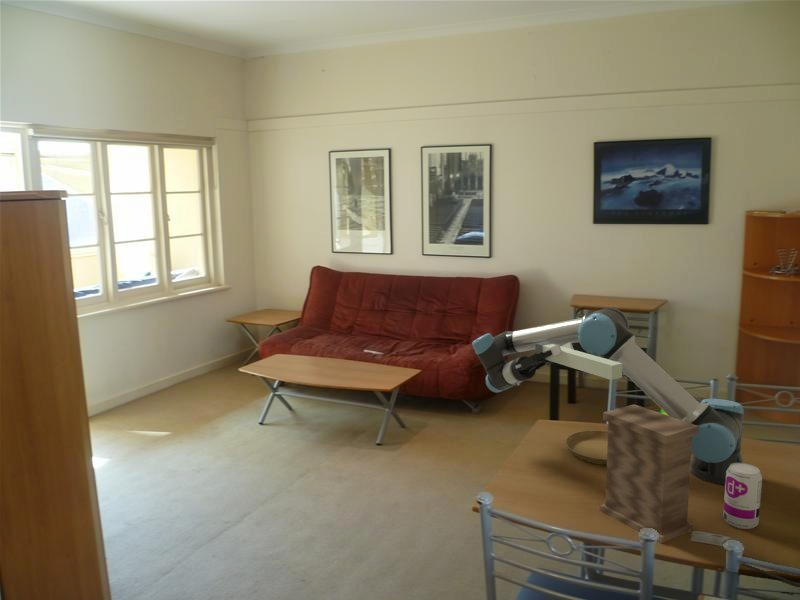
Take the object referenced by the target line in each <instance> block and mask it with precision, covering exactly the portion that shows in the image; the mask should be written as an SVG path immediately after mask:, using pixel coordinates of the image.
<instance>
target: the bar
mask: <svg viewBox="0 0 800 600" xmlns="http://www.w3.org/2000/svg"><path fill="white" fill-rule="evenodd" d="M553 346H555V344H553V343H549V342H540V343H535V349H534V352H535V353H534V354H539V353H540V352H543V353H544V351H545V350H547V349H549V348H551V347H553ZM562 346H563V345H560V348H561V350H562V353H561V354H559V355H557V356H555V357H553V358H551V359H549V361H552V362H553V363H556V364H559V365H561V366H562V365H563V366H565V367H568V368H570V369H571V368H572V369H575V370H579V371H582V372H585V373H588V374H591V375H594V376H597V377H599V378H604V379H608V380H609V381H613V380H617V379H618V380H619V379H622V378H623V372H622V363H619V362H616V361H612V360H609V359H605V358H601V357H599V356H598V355H593V354H590V353H588V352H583V351H579V350H577V349H576V350H575V349H574V348H573V349H574V350H573V349H569V348H566V347H562ZM545 359H546V358H545ZM546 360H547V359H546Z"/></svg>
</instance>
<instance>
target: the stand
mask: <svg viewBox="0 0 800 600" xmlns="http://www.w3.org/2000/svg"><path fill="white" fill-rule="evenodd" d="M602 420H603V421H605V422H607V423H608V424H607V426H608V427H607V431H608V446H607V465H606V475H605V476H606V477H605V480H606V481H605V503H603V504H600V505H599V511H600V512H602V513H604V514H606V515H607V516H609V517H612V518H613V519H615V520H617V521H619V522H621V523H622V524H624V525H626V526H628V527H629V528H632V529H633V530H635V531H637V532H639V531H640V529H642V528H653V529H655V530H657V532H658V533H659V540H658V541H657V542H658V543H659V544H663V543H665V541H666V542H668V541H670V540H672V539H671V538H673V539H675V538H677V537H679V535H680V536H682V535H684V534H687V533H689V532H691V531H693V527H694V525H693V523H690V522H688V512H689V511H688V509H689V495H690V493H689V492H690V480H691V479H690V476H691V471H690V467H691V461H692V459H691V458H692V452H691V446H692V436H693V435H696V434H698V431H699V426H697V425H694V424H691V423H688V422H685V421H682V420H679V419H676V418H673V417H670V416H668V415H665V414H662V413H661V412H658V411H655V410H652V409H649V408H647V407H643V406H640V405H637V404H631V405H626V406H623V407H622V406H621V407H619V408H615V409H611V410H608V411H603V413H602ZM690 530H691V531H690ZM686 532H687V533H686ZM683 533H684V534H683ZM681 534H682V535H681ZM676 536H677V537H676ZM674 537H675V538H674ZM669 539H670V540H669ZM667 540H668V541H667Z"/></svg>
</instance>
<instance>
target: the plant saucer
mask: <svg viewBox="0 0 800 600" xmlns="http://www.w3.org/2000/svg"><path fill="white" fill-rule="evenodd" d="M565 445H566V447H567V449H568V451H570V452H571V453H572V454H573V455H574V456H576V457H577V458H579V459H580V460H583V461H585V462H587V461H588V463H591V462H592V464H595V463H596V464H597V465H603V466H604V465H606V466H607V446H608V430H598V429H596V430H582V431H578V432H577V431H576V432H575V433H574V432H573V433H572V434H570V435H568V436H567V437H566V439H565Z"/></svg>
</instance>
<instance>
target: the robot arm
mask: <svg viewBox="0 0 800 600" xmlns="http://www.w3.org/2000/svg"><path fill="white" fill-rule="evenodd" d="M629 329H630V323H629V320H628V317H627V316H626V314H625V313H624V312H622V311H621V310H620V309H617V308H614V307H604V308H601V309H599V310H596V311H593V312H588V313H585V314H584V316H583V317H579V318H578V317H577V318H574V319H568V320H564V321H558V322H553V323H548V324H544V325H538V326H533V327H528V328H524V329H519V330H515V331H513V330H512V331H510V330H509V331H508V330H507V331H503V332H502V333H499V334H497V335H496V336H493V335H492V334H491V333H484V334H483V335H481V336H479V337H477V338H476V339H474V340H473V341H472V342H471V345H472V347H473V349H474V350H473V351H475V355H476V356H477V358H478V359H479V361H480V362H481V365H482V366H483V368H484V369H485V372H486V374H487V375H485V384H486V387H487V388H488V389H489V391H491V392H493V393H501V392H504V391H506V390H509V389H511V388H512V387H514V386H520V385H521V383H523V382H525V381H528V380H530V379H532V378H533V377H534V376H535V375H536V372H537V371H538V370H539V369H541V368H544V367H545V366H550V365H551V364H553V363H554V362H552V361H549V359H551V358H553V357H555V356H557V355H559V354H561V353H562V350H561V348H560V346H562V347H566V348H569V349H573V350H575V349H574V347H573V344H574V343H579V344H580V346H581V348H582V349H583V350H584V351H585V352H586V353H587V354H591V355H594V356H598V357H601V358H605V359H609V360H612V361H616V362H619V363H622V374H624V375H626V377H628V378H629V379H630V380H631V381H632V382H633V383H634V384H635V385H636V386H637V387H638V388H639V389H640V390H641V391H642V392H644V394H645V395H646V396H647V397H648V398H649V399H650V400H651V401H653V402H654V403H655V404H656V406H658V407H659V408H660V410H661V409H662V410H663V411H664V412H665V413H666V414H667V415H668V416H670V417H673V418H676V419H679V420H682V421H685V422H688V423H691V424H694V425H697V426H699V431H698V434H696V435H693V436H692V446H691V455H693V457H692V459H691V463H690V474H692V475H693V476H695V477H696V478H698V479H700V480H703V481H705V482H708V483H712V484H713V483H714V484H719V485H725V482H726V471H727V469H728V468H729V466H730V464H733V463H744V461H743V457H742V454H741V450H742V438H743V436H742V435H743V424H744V423H743V421H744V415H745V413H744V407H743V405H742V404H741V403H739V402H736V401H734V400H733V401H732V400H727V399H722V398H721V399H720V398H704V399H703V400H701V401H700V402H699V401H698V400H697V399H695V398H694V397H693V396H692V394H690V393H689V392H688V391H687V390H686V389H685V388H683V387H682V385H681V384H679V383H678V382H677V381H676V380H675V379H674V378H673V377H672V376H671V375H669V373H668V372H666V371H665V370H664V369H663V367H661V366H660V365H659V364H658V363H657V362H656V361H654V359H653V358H651V357H650V356H649V355H648V354H647V353H646V352H645V351H644V350H643V349H642V348H640V346H638V345H637V344H636V341H635V340H636V336H635V335H634V334H633V333H632V331H630V330H629ZM540 342H549V343H553V344H555V346H553V347H551V348H549V349H547V350H545V351H544V353H543V352H540V353H539V354H535V353H534V354H532V355H530V356H527V355H521V356H519V357H517V358H515V359H512V360H511V361H509V362H507V359H506V358H505V356H508V355H513V354H517V353H522V352H527V351H532V350H534V351H535V343H540ZM545 358H546V359H547V360H546V359H545Z"/></svg>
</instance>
